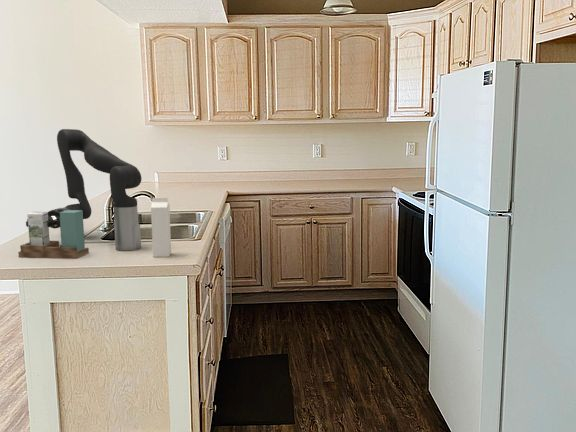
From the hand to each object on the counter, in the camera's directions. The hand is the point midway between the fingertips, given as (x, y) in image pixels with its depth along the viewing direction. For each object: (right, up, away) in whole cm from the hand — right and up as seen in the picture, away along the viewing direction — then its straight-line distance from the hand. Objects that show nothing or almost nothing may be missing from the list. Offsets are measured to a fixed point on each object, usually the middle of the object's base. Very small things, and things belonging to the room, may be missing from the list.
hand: (37, 224), depth 219 cm
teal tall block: (+14, -10, +1) cm, 17 cm away
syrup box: (0, -10, +2) cm, 10 cm away
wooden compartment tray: (+6, -12, +2) cm, 13 cm away
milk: (+47, -12, +1) cm, 49 cm away
